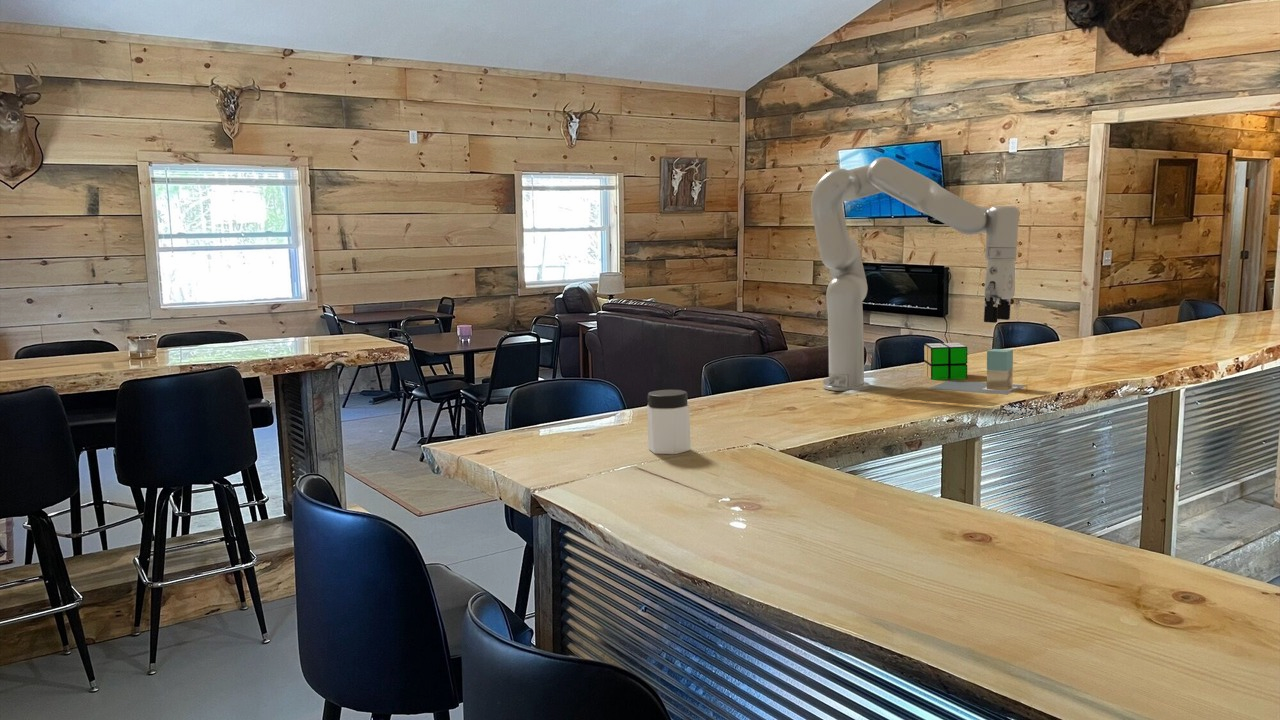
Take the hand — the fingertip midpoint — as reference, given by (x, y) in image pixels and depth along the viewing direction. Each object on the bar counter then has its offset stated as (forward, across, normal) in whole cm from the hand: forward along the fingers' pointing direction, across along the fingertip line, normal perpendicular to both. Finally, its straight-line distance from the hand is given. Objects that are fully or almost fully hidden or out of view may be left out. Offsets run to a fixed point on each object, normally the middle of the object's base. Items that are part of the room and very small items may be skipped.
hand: (996, 320), depth 241 cm
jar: (+22, -96, +33) cm, 104 cm away
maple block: (+18, 0, -2) cm, 18 cm away
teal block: (+13, 0, -1) cm, 13 cm away
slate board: (+19, 0, +4) cm, 19 cm away
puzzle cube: (+20, +14, +18) cm, 30 cm away
